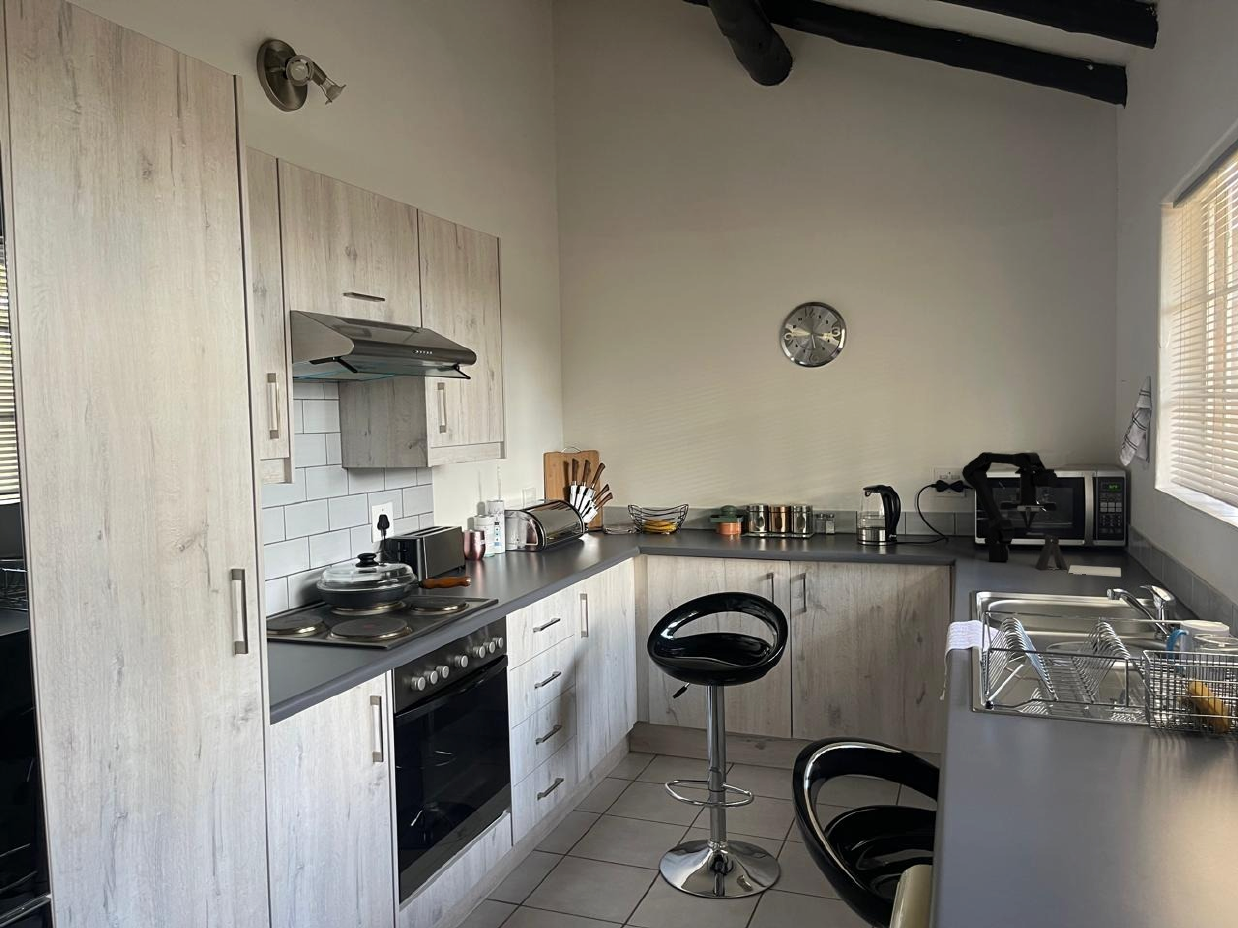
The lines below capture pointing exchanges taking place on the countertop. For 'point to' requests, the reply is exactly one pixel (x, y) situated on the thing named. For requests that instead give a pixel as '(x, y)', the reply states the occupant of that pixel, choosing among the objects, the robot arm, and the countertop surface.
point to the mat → (1095, 570)
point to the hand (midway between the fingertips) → (1028, 529)
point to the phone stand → (1046, 553)
